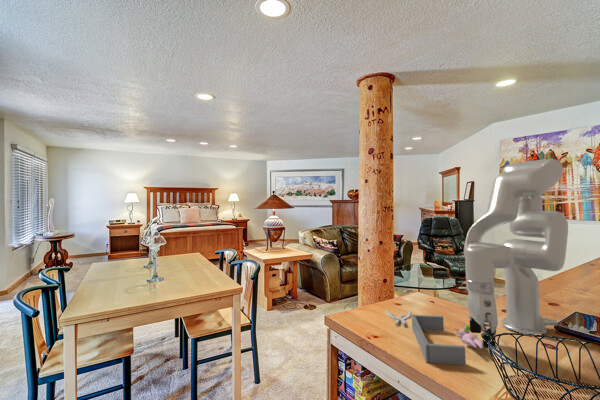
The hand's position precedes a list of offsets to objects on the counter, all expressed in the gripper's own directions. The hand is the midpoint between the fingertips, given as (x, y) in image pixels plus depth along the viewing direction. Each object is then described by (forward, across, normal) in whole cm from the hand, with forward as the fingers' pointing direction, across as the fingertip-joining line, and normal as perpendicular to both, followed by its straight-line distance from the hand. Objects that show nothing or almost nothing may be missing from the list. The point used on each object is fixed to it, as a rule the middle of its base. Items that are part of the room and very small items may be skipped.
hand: (482, 339), depth 88 cm
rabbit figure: (+3, +2, +3) cm, 4 cm away
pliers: (+3, +20, +22) cm, 30 cm away
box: (+2, 0, +14) cm, 14 cm away
